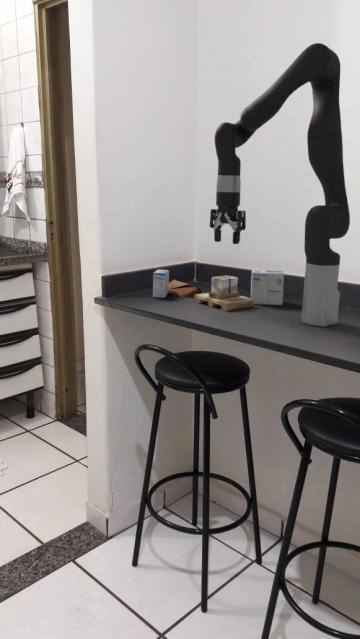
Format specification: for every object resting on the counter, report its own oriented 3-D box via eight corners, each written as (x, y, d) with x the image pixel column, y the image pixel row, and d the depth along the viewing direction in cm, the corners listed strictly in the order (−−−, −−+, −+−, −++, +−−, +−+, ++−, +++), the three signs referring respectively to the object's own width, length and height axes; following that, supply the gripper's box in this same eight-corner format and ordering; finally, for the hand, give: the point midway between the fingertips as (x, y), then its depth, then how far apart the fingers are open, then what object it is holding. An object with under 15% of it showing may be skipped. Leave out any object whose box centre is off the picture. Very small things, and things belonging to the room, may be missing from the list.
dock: (253, 306, 168) (253, 299, 167) (226, 311, 161) (226, 303, 160) (220, 297, 180) (221, 290, 180) (194, 301, 173) (194, 294, 173)
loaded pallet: (239, 296, 171) (240, 277, 169) (219, 299, 165) (219, 279, 164) (228, 294, 175) (229, 274, 173) (208, 297, 169) (209, 277, 168)
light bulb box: (281, 301, 177) (283, 270, 174) (282, 305, 171) (285, 273, 168) (249, 300, 178) (251, 269, 175) (250, 304, 172) (252, 272, 169)
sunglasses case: (155, 289, 193) (163, 273, 193) (169, 297, 197) (176, 281, 197) (182, 298, 178) (191, 281, 179) (196, 306, 183) (204, 289, 183)
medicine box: (156, 292, 187) (156, 269, 185) (168, 293, 186) (169, 269, 184) (152, 297, 179) (152, 272, 177) (165, 297, 179) (165, 273, 177)
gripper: (253, 191, 158) (250, 244, 162) (222, 190, 169) (220, 240, 173) (235, 191, 154) (233, 245, 158) (204, 190, 165) (203, 241, 169)
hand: (226, 242), depth 165 cm, fingers open, 8 cm apart
